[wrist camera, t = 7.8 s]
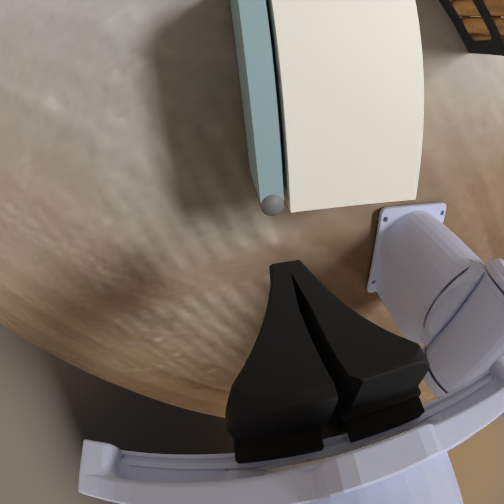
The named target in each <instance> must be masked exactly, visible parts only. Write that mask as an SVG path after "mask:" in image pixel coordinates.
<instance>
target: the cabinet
mask: <svg viewBox="0 0 504 504" xmlns="http://www.w3.org/2000/svg"><path fill="white" fill-rule="evenodd" d="M266 7H267V14H268V22H269V30H270V39H271V47H272V56H273V66H274V76H275V86H276V96H277V108H278V120H279V132H280V145H281V160H282V175H283V192H284V201H285V203H286V204H287V206H288V208H289V210H290V212H291V213H292V212H300V211H308V210H317V209H325V208H334V207H343V206H352V205H362V204H372V203H382V202H393V201H404V200H415V199H416V193H417V186H418V179H419V171H420V162H421V151H422V139H423V120H424V74H423V56H422V44H421V35H420V27H419V20H418V13H417V7H416V2H415V0H266Z"/></svg>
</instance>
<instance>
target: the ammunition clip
mask: <svg viewBox="0 0 504 504" xmlns="http://www.w3.org/2000/svg"><path fill="white" fill-rule="evenodd" d="M439 1H440V3H441V4H442V6H443V7H444V9H445V10H446V12H447V13H448V15H449V17H450V18H451V20H452V22H453V23H454V25H455V27H456V29H457V30H458V32H459V34H460V36H461V38H462V40H463V42H464V44H465V46H466V48H467V50H468V52H469V53H476V54H491V55H501V56H504V18H502V17H504V0H439ZM470 16H481V17H470ZM501 16H502V17H501ZM487 34H488V35H487Z"/></svg>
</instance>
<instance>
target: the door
mask: <svg viewBox="0 0 504 504" xmlns="http://www.w3.org/2000/svg"><path fill="white" fill-rule="evenodd" d="M230 5H231V13H232V21H233V29H234V37H235V45H236V54H237V62H238V70H239V79H240V87H241V96H242V104H243V113H244V122H245V131H246V139H247V148H248V157H249V166H250V174H251V177H252V181H253V184H254V187H255V190H256V193H257V196H258V200H259V203H260V206H261V209H262V211H263V212H264V213H265V214H266V215H269V216H275V215H277V214H279V213H280V212H281V211H282V210H283V208H284V201H283V200H284V192H283V175H282V160H281V145H280V132H279V120H278V108H277V96H276V86H275V76H274V66H273V56H272V47H271V39H270V30H269V22H268V14H267V7H266V0H230Z"/></svg>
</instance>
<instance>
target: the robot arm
mask: <svg viewBox="0 0 504 504" xmlns="http://www.w3.org/2000/svg"><path fill="white" fill-rule="evenodd" d="M441 211H442V212H441ZM445 212H446V204H445V203H444V202H436V203H425V204H414V205H403V206H393V207H385V208H382V209H381V211H380V213H379V221H378V228H377V235H376V241H375V247H374V253H373V259H372V264H371V270H370V275H369V280H368V285H367V291H368V292H369V293H373V292H377V294H378V295H379V297H380V299H381V300H382V302H383V304H384V305H385V307H386V309H387V310H388V312H389V314H390V316H391V317H392V319H393V321H394V323H395V324H396V326H397V328H398V330H399V331H400V332H401V334H402V335H403V336H404V337H406V338H407V339H405V338H402V337H400V336H397V335H395V334H393V333H391V332H389V331H387V330H385V329H383V328H381V327H379V326H377V325H375V324H374V323H372V322H370V321H369V320H367V319H365V318H364V317H362V316H360V315H359V314H357V313H356V312H355V311H353V310H352V309H351V308H349V307H348V306H347V305H345V304H344V303H343V302H342V301H340V300H339V299H338V298H337V297H336V296H335V295H333V294H332V293H331V292H330V291H329V290H328V289H327V288H326V287H325V286H324V285H323V284H322V283H321V282H320V281H319V280H318V279H317V278H316V277H315V276H314V275H313V274H312V273H311V272H310V271H309V270H308V269H307V268H306V266H305V265H304V264H303V263H302V262H301V261H300V260H296V261H290V262H283V263H276V264H272V265H271V266H270V267H269V268H270V280H271V286H270V294H269V300H268V305H267V309H266V313H265V317H264V320H263V324H262V327H261V330H260V332H259V335H258V337H257V340H256V343H255V345H254V347H253V349H252V351H251V353H250V355H249V357H248V359H247V361H246V363H245V365H244V367H243V369H242V370H241V372H240V373H239V375H238V377H237V378H236V380H235V381H234V383H233V384H232V387H231V391H230V394H229V398H228V402H227V406H226V415H225V416H226V428H227V431H228V433H229V434H230V436H231V437H232V439H233V440H234V451H235V453H231V454H211V455H171V454H152V453H140V452H131V451H122V450H120V449H119V448H117V447H116V446H114V445H111V444H107V443H103V442H97V441H91V440H84V443H83V450H82V457H81V465H80V475H79V486H78V487H79V488H78V491H79V492H80V493H82V494H86V495H89V496H93V497H96V498H99V499H103V500H107V501H111V502H115V503H119V504H464V503H463V500H462V496H461V493H460V490H459V486H458V483H457V480H456V477H455V474H454V471H453V468H452V465H451V462H450V459H449V456H448V454H447V451H449V450H451V449H452V448H454V447H456V446H457V445H459V444H460V443H462V442H463V441H465V440H467V439H468V438H470V437H471V436H473V435H474V434H475V433H477V432H478V431H480V430H481V429H482V428H484V427H485V426H487V425H488V424H489V423H491V422H492V421H494V420H495V419H496V418H497V417H500V416H504V261H503V260H502V259H495V260H493V259H490V260H489V262H488V263H487V265H486V264H485V263H484V262H483V261H482V260H481V259H480V258H479V257H478V256H477V255H476V254H475V253H474V252H473V251H472V250H471V249H470V248H469V247H468V246H467V245H466V244H465V243H463V242H462V241H461V240H460V239H459V238H458V237H457V236H456V235H455V234H454V233H453V232H452V231H451V230H449V229H448V228H447V227H446V226H445V225H444V224H443V221H444V216H445ZM384 217H386V218H385V219H384ZM383 219H384V220H383ZM373 280H374V281H373ZM419 345H424V347H423V348H422V349H421V347H420V346H419ZM423 378H424V380H425V382H426V384H427V386H428V387H429V389H430V390H431V391H432V392H433V393H434V394H435V395H436V396H437V397H438V398H437V399H435V400H433V401H431V402H429V403H427V404H424V405H422V403H421V401H420V398H419V395H420V394H421V391H420V389H419V387H418V385H419V383H420V382H421V381H422V379H423ZM405 431H406V432H405ZM402 432H404V433H402ZM400 433H402V434H400ZM398 434H399V435H398ZM395 435H397V436H395ZM393 436H394V437H393ZM390 437H392V438H390ZM388 438H390V439H388ZM385 439H387V440H385ZM382 440H384V441H382ZM379 441H382V442H379ZM377 442H379V443H377ZM374 443H376V444H374ZM371 444H373V445H371ZM368 445H370V446H368ZM365 446H367V447H365ZM362 447H364V448H362ZM359 448H361V449H359ZM356 449H358V450H356ZM352 450H355V451H352ZM349 451H351V452H349ZM346 452H348V453H346ZM342 453H345V454H342ZM338 454H342V455H339V456H336V457H334V458H331V459H328V460H326V461H323V462H319V463H316V464H312V465H308V466H304V467H300V468H296V469H292V470H287V471H283V472H277V473H272V474H268V471H267V470H261V469H268V468H275V467H282V466H289V465H294V464H300V463H305V462H309V461H314V460H318V459H323V458H326V457H331V456H334V455H338Z"/></svg>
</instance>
